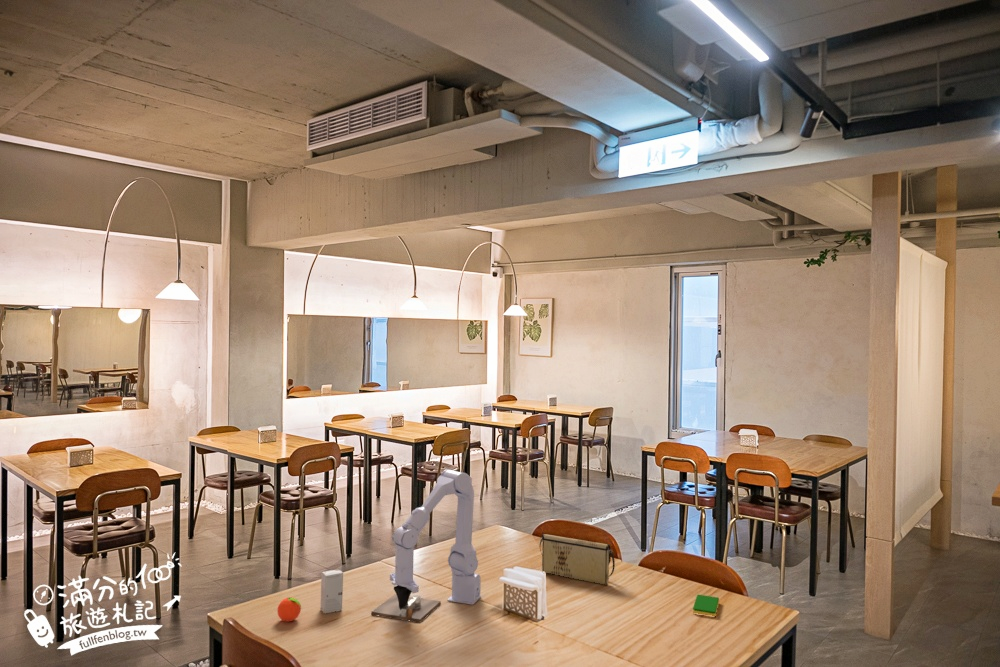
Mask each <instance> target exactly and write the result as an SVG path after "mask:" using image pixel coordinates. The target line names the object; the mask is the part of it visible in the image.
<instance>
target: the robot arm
mask: <svg viewBox="0 0 1000 667" xmlns="http://www.w3.org/2000/svg"><path fill="white" fill-rule="evenodd" d="M472 484H473V479H472V477H471V476H470V475H469V474H468V473H466V472H461V471H457V470H454V469H450V468H446V469H444V470H443V471H442V472H441V474H440V475H439V476H438V477H437V480H436V484H435V486H434V487H433V489H432V490H431V492H430V493H429V495H428V497H427V498H426V499H425V500H424V502H423V504H422V505H421V506H420V507H416V508H415V509H412V511H411V512H410V513H411V514H410V515H409V516H408V518H407V519H406V520H405V522H403V524H402V526H400V527H398V528H396V529H395V531H394V533H393V534H392V536H391V541H392V542H393V544H394V550H395V552H394V554H395V555H394V556H395V559H394V560H395V561H394V564H395V566H394V568H395V569H394V573H390V574H389V580H390V581H391V585H393V590H394V592H395V594H396V595H397V598H398V601H399V608H400V610H402V608H403V607H404V606H405V605H406V604H407V603H408V599H409V596H410V597H411V594H416V593H419V590H420V589H419V585H418V584H417V583H416V581H415V579H414V557H415V556H414V552H415V550H414V549H415V546H416V545H417V544H418V541H419V536H420V533H421V531H422V530H423V529H424V527H425V526H426V525H427V523H428V522H430V521H429V520H430V517H431V516H430V514H431V513H432V511H433V510H434V509H435V508H436V507H437V506H438V504H439V503H441V501H442V500H443V499H444V498H445V496H449V495H455V496H456V497H457V505H456V507H457V509H456V510H457V511H456V525H455V543H453V544H452V546H451V547H450V551H449V552H450V553H449V555H448V559H447V563H448V567H450V568H451V569H450V570H451V572H452V573H451V595H450V596H449V597H448V598H447V601H448V602H452V601H453V602H455V603H460V604H467V605H474V604H475V603H476V602H477V601H478V600H480V598H482V595H481V588H482V587H481V586H482V585H481V582H482V579H481V575H480V574H478V573H476V571H477V569H478V566H479V560H478V558H477V550H476V549H475V547H474V546H473V544H472V541H473V539H472V538H473V523H474V522H473V521H474V520H473V519H474V506H475V505H474V502H475V500H474V499H475V490H474V486H473V485H472ZM453 602H452V603H453Z"/></svg>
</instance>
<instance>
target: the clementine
mask: <svg viewBox="0 0 1000 667" xmlns="http://www.w3.org/2000/svg"><path fill="white" fill-rule="evenodd" d="M301 609H303V608H302V605H301V603H300V601H299V600H298V599H296V598H295V597H290V596H289V597H286V598H284V599H282V600H281V601H280V602H279V604H278V606H277V615H278V618H280V621H283V622H292V621H294V620H296V619H297V618H298V617H299V615H300V613H301Z"/></svg>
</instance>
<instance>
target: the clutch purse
mask: <svg viewBox="0 0 1000 667" xmlns="http://www.w3.org/2000/svg"><path fill="white" fill-rule="evenodd" d="M541 544H542V546H541ZM541 547H542V549H541ZM539 550H540V554H541V555H542V558H541V559H542V560H541V561H542V563H541V564H542V566H541V570H542V572H543V571H545V572H546V573H545V574H547V573H551V574H550V575H552V574H555V575H554V576H558V575H560V576H559V577H563V576H564V578H568V577H569V578H568V579H573V578H574V580H578V579H579V580H580V581H583V580H584V581H585V582H590V583H594V582H595V584H599V583H600V585H604V584H605V586H608V585H609V578H610V577H611V576H612V575H613V574H614V571H615V567H616V566H615V562H616V561H615V556H614V553H613V549H612V548H611V544H607V543H602V542H595V541H590V540H589V541H588V540H583V539H576V538H571V537H564V536H558V535H554V534H553V535H552V534H547V533H546V534H545V533H542V535H541V536H540V542H539ZM611 560H612V570H611V573H610V572H609V571H610V563H611ZM607 584H608V585H607Z"/></svg>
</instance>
